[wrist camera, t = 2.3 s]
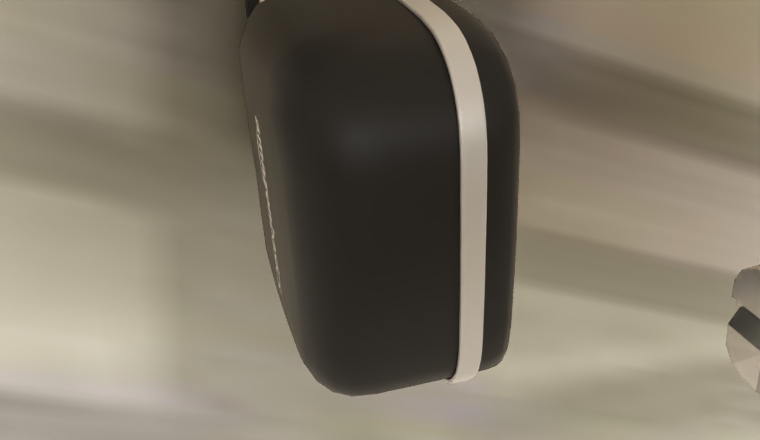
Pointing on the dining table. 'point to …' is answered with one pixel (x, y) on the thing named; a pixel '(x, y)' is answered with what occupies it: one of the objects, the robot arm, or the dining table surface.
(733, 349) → the robot arm
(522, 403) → the dining table surface
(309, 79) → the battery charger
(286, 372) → the dining table surface
